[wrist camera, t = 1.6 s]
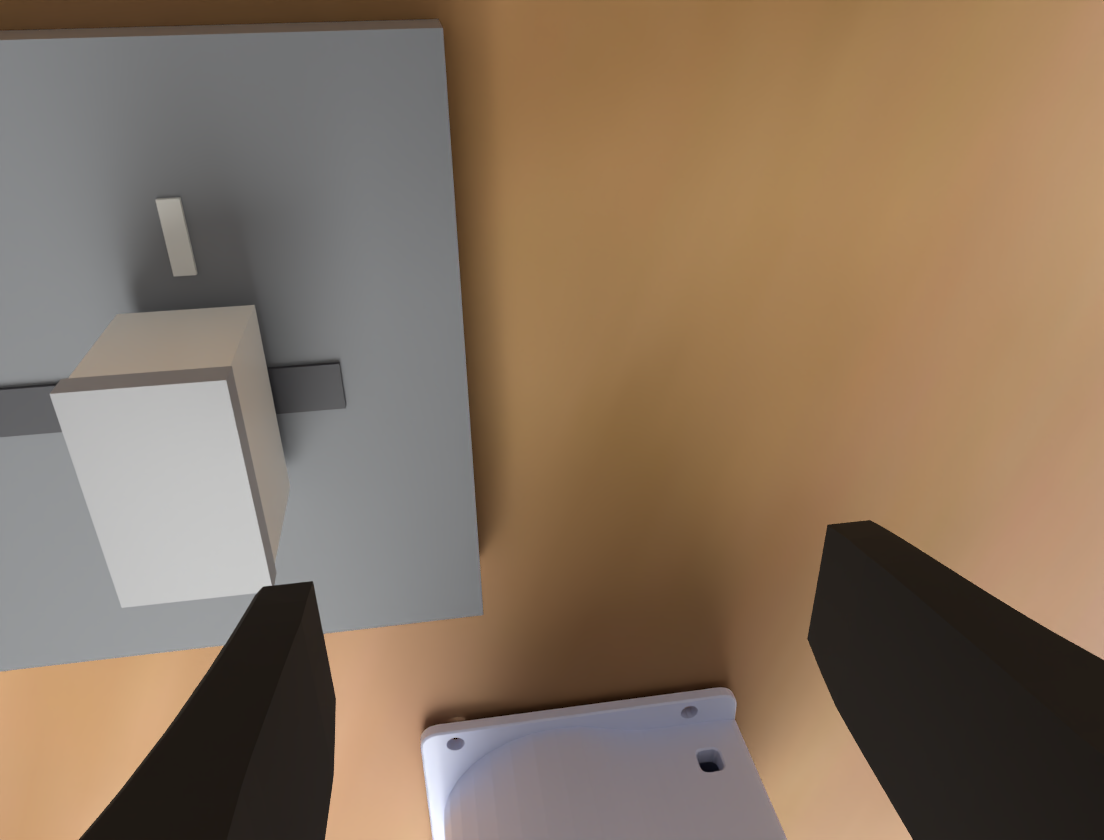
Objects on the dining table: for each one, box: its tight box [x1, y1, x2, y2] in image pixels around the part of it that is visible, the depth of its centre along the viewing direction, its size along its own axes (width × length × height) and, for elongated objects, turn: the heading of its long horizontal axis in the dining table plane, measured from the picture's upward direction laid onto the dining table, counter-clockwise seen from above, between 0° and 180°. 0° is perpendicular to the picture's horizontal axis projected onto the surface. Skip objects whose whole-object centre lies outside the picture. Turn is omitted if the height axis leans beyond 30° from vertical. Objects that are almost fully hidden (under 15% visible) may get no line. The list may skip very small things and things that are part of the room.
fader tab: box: [50, 305, 290, 608], centre depth 15 cm, size 2×4×3 cm, turn 1°
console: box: [0, 19, 483, 671], centre depth 17 cm, size 18×13×2 cm
